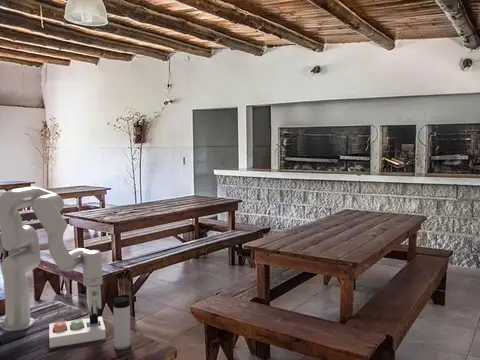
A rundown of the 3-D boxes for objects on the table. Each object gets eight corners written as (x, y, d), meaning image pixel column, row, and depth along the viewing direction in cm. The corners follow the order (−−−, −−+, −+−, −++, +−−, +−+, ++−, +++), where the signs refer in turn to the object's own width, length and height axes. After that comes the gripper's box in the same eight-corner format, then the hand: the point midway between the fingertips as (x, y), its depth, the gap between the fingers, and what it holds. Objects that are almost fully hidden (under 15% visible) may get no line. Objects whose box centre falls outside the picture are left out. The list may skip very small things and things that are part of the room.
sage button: (71, 334, 178) (71, 324, 178) (70, 329, 182) (70, 320, 182) (83, 332, 180) (83, 323, 179) (82, 328, 184) (82, 318, 184)
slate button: (88, 335, 181) (88, 326, 180) (87, 330, 185) (87, 321, 185) (100, 333, 183) (99, 324, 182) (98, 329, 187) (98, 320, 186)
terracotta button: (54, 337, 175) (53, 327, 175) (53, 332, 180) (53, 322, 179) (66, 335, 177) (66, 325, 177) (66, 330, 181) (65, 321, 181)
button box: (49, 347, 171) (49, 337, 170) (49, 333, 184) (49, 323, 183) (105, 338, 179) (105, 329, 179) (101, 325, 192) (101, 316, 191)
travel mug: (134, 345, 174) (133, 296, 172) (121, 351, 168) (120, 301, 167) (123, 340, 177) (123, 292, 175) (110, 347, 172) (109, 297, 170)
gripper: (104, 284, 176) (105, 328, 178) (100, 274, 190) (101, 315, 192) (84, 287, 173) (85, 331, 175) (82, 276, 187) (83, 317, 189)
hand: (93, 323), depth 183 cm, fingers closed
